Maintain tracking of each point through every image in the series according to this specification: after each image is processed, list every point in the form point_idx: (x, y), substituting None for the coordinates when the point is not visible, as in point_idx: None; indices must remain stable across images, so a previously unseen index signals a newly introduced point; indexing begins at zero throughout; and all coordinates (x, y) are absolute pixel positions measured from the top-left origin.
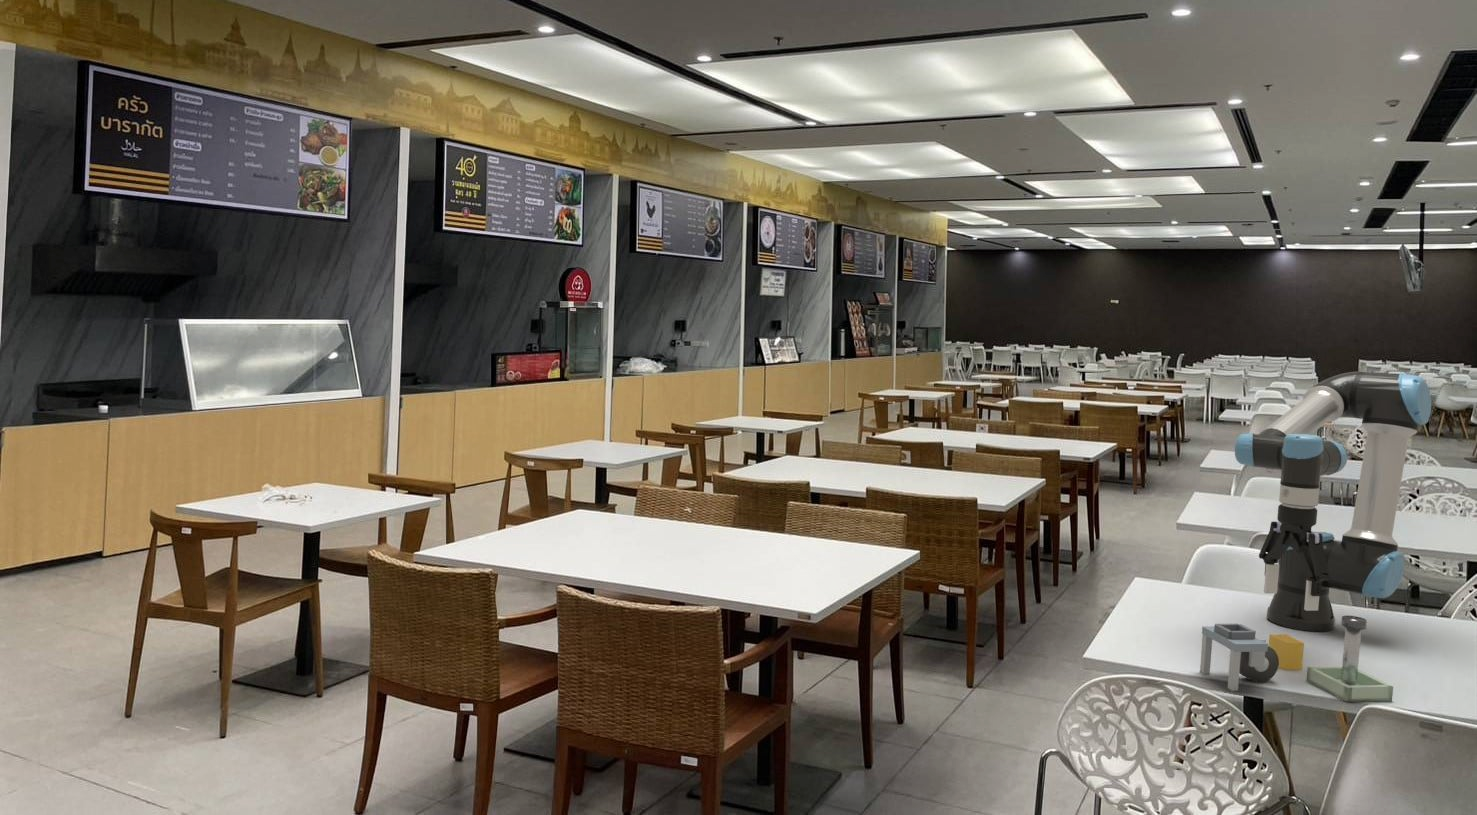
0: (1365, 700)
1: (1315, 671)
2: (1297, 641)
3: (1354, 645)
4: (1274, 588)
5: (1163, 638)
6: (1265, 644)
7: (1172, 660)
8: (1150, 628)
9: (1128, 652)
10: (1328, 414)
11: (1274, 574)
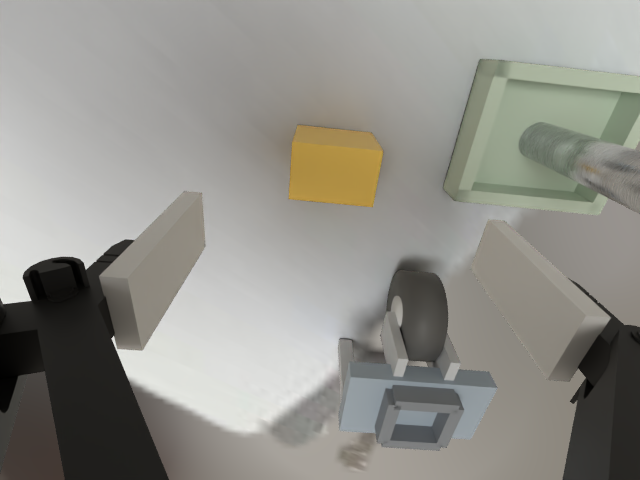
0: None
1: (484, 203)
2: (365, 161)
3: None
4: (194, 217)
5: None
6: (495, 391)
7: (268, 351)
8: None
9: (220, 389)
10: None
11: (163, 264)
